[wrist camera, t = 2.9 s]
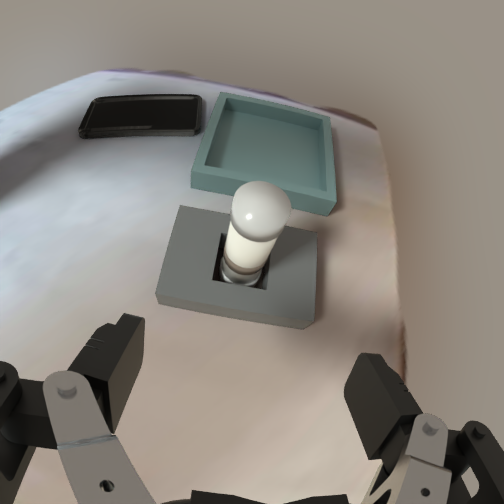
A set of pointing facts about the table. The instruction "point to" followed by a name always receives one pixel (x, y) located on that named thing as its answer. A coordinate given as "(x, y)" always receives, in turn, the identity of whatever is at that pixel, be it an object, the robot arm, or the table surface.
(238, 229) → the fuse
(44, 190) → the table surface
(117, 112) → the phone
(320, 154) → the parts tray
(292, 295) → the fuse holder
